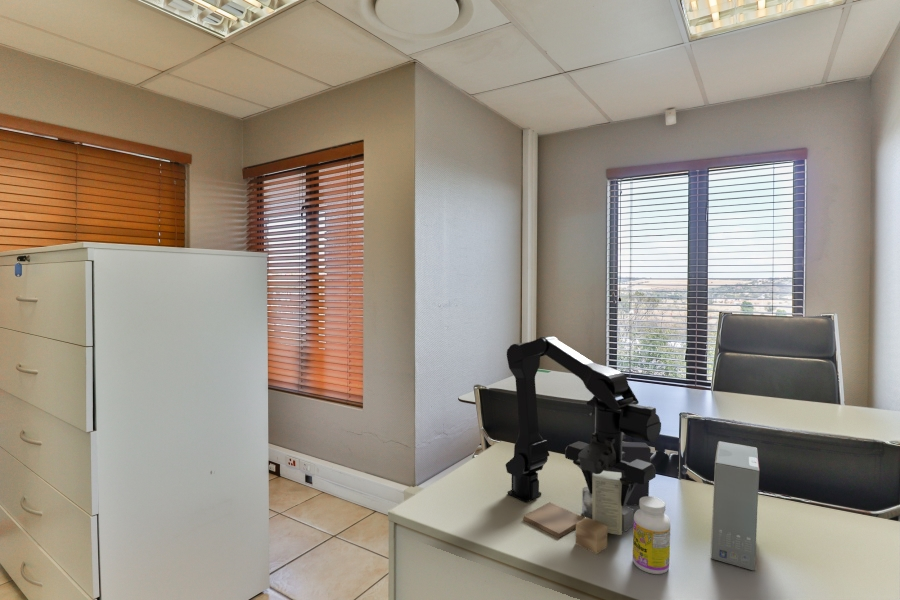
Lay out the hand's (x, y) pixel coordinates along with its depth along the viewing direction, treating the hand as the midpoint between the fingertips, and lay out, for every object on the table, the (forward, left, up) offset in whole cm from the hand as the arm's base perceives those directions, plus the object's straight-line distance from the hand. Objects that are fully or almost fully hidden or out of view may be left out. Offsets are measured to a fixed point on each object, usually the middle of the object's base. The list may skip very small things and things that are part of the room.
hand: (607, 499), depth 102 cm
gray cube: (0, +6, -8) cm, 10 cm away
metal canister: (-7, +5, -8) cm, 12 cm away
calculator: (-5, +17, -8) cm, 20 cm away
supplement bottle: (+12, -3, -8) cm, 15 cm away
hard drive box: (+20, +16, -8) cm, 27 cm away
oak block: (0, -6, -8) cm, 10 cm away
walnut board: (-11, -4, -8) cm, 14 cm away
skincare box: (0, 0, -7) cm, 7 cm away
